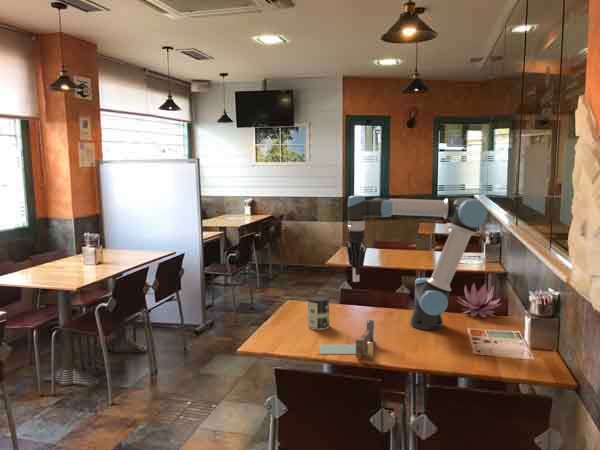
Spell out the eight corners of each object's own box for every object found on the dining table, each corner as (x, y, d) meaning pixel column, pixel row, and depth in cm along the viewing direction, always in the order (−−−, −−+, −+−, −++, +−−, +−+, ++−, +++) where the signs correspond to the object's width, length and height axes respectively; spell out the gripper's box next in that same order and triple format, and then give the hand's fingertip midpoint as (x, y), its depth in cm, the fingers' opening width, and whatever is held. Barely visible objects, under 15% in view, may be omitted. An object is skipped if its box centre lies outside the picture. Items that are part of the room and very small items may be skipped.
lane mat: (365, 345, 203) (365, 344, 203) (368, 354, 193) (368, 353, 193) (319, 345, 204) (319, 344, 204) (319, 354, 194) (319, 353, 194)
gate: (366, 342, 203) (366, 327, 202) (371, 343, 203) (371, 327, 202) (355, 357, 188) (355, 340, 187) (360, 358, 187) (360, 341, 186)
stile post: (372, 358, 189) (372, 341, 189) (373, 360, 187) (373, 343, 186) (366, 358, 189) (366, 341, 189) (367, 360, 187) (367, 343, 186)
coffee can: (330, 323, 231) (330, 295, 230) (327, 330, 221) (327, 301, 220) (309, 322, 234) (309, 294, 232) (306, 329, 224) (305, 300, 222)
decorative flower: (481, 324, 229) (482, 294, 227) (447, 312, 247) (447, 284, 245) (509, 317, 239) (511, 288, 237) (475, 306, 258) (476, 279, 256)
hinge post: (375, 341, 207) (375, 319, 206) (376, 345, 203) (376, 323, 201) (363, 341, 208) (363, 319, 206) (364, 345, 203) (365, 323, 201)
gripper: (341, 229, 217) (341, 279, 219) (358, 232, 205) (358, 285, 208) (354, 227, 220) (354, 277, 223) (371, 230, 209) (371, 283, 212)
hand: (356, 281), depth 216 cm, fingers closed
